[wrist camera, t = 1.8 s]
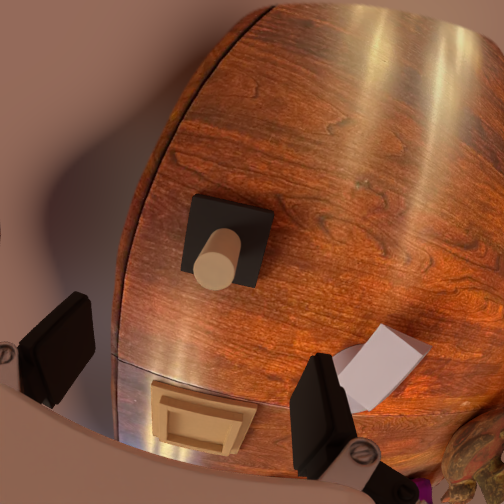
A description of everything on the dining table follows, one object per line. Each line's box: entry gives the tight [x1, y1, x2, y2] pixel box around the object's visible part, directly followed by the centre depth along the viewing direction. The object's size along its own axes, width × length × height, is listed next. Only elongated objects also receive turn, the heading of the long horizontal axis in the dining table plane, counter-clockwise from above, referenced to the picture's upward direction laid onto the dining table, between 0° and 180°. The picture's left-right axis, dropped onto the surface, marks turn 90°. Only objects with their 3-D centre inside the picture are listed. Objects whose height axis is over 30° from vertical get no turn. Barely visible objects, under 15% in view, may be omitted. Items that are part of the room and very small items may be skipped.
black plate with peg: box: [181, 194, 274, 290], centre depth 22 cm, size 7×7×8 cm
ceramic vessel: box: [441, 407, 504, 504], centre depth 27 cm, size 17×26×25 cm, turn 161°
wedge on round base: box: [332, 324, 433, 413], centre depth 27 cm, size 9×7×13 cm
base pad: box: [151, 380, 257, 456], centre depth 34 cm, size 14×14×2 cm
